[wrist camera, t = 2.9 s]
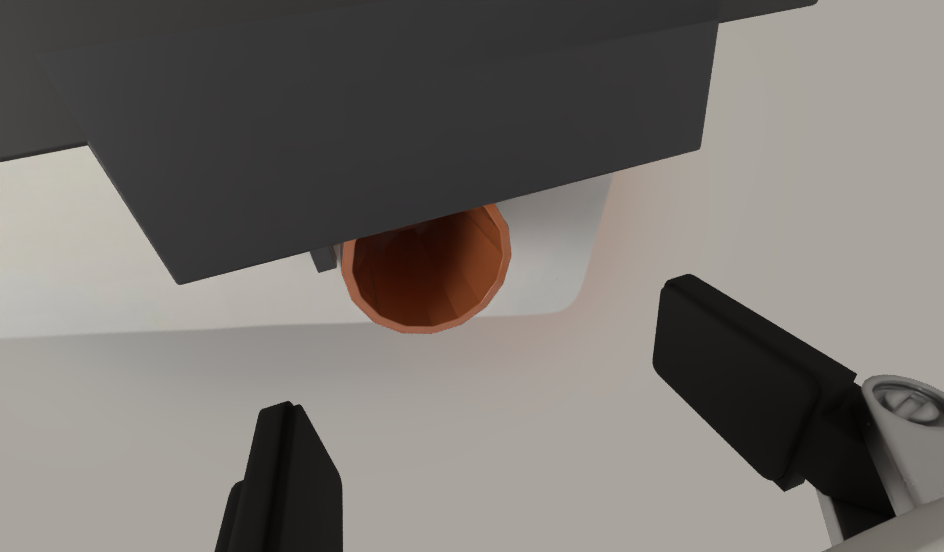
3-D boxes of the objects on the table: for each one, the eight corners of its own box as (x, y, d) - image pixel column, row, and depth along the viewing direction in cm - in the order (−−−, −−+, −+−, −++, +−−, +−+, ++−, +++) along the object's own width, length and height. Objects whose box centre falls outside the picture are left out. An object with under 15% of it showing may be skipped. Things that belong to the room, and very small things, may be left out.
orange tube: (357, 244, 27) (371, 353, 17) (323, 143, 23) (315, 204, 13) (451, 219, 28) (517, 307, 18) (432, 120, 25) (501, 160, 15)
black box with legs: (314, 264, 27) (282, 607, 10) (193, -28, 18) (-1195, -933, 2) (493, 216, 29) (712, 428, 12) (456, -62, 21) (964, -577, 4)
